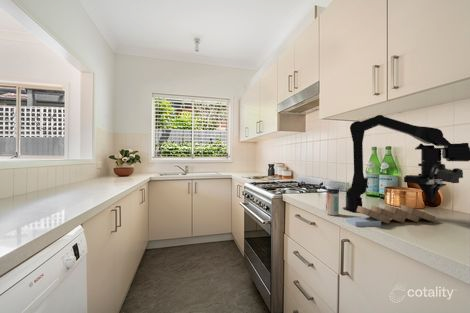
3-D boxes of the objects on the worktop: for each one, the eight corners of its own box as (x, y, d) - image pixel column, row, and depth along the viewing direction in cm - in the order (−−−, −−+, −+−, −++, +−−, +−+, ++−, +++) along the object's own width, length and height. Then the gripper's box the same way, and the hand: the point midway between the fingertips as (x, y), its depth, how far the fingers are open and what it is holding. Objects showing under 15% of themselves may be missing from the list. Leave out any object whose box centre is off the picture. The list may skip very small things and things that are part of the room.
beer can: (327, 212, 93) (328, 184, 93) (339, 214, 90) (340, 185, 90) (324, 214, 89) (324, 185, 89) (336, 216, 86) (337, 187, 86)
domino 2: (392, 219, 83) (370, 210, 83) (394, 213, 83) (372, 205, 83) (403, 223, 78) (380, 214, 78) (405, 217, 78) (382, 208, 78)
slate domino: (370, 222, 81) (346, 223, 79) (370, 216, 81) (346, 217, 79) (381, 227, 76) (355, 228, 74) (381, 220, 76) (355, 221, 74)
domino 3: (405, 218, 85) (383, 209, 84) (407, 213, 85) (385, 204, 84) (417, 222, 80) (394, 213, 79) (419, 216, 80) (396, 207, 79)
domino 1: (376, 219, 81) (356, 211, 79) (378, 213, 82) (358, 205, 79) (388, 223, 77) (367, 215, 74) (390, 218, 77) (369, 209, 74)
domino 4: (421, 218, 85) (399, 210, 84) (422, 213, 85) (401, 204, 84) (433, 222, 80) (411, 213, 79) (435, 216, 80) (413, 208, 79)
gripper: (433, 161, 73) (433, 207, 73) (476, 161, 76) (476, 205, 76) (402, 161, 84) (402, 200, 84) (442, 160, 87) (441, 199, 87)
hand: (430, 201), depth 83 cm, fingers closed
